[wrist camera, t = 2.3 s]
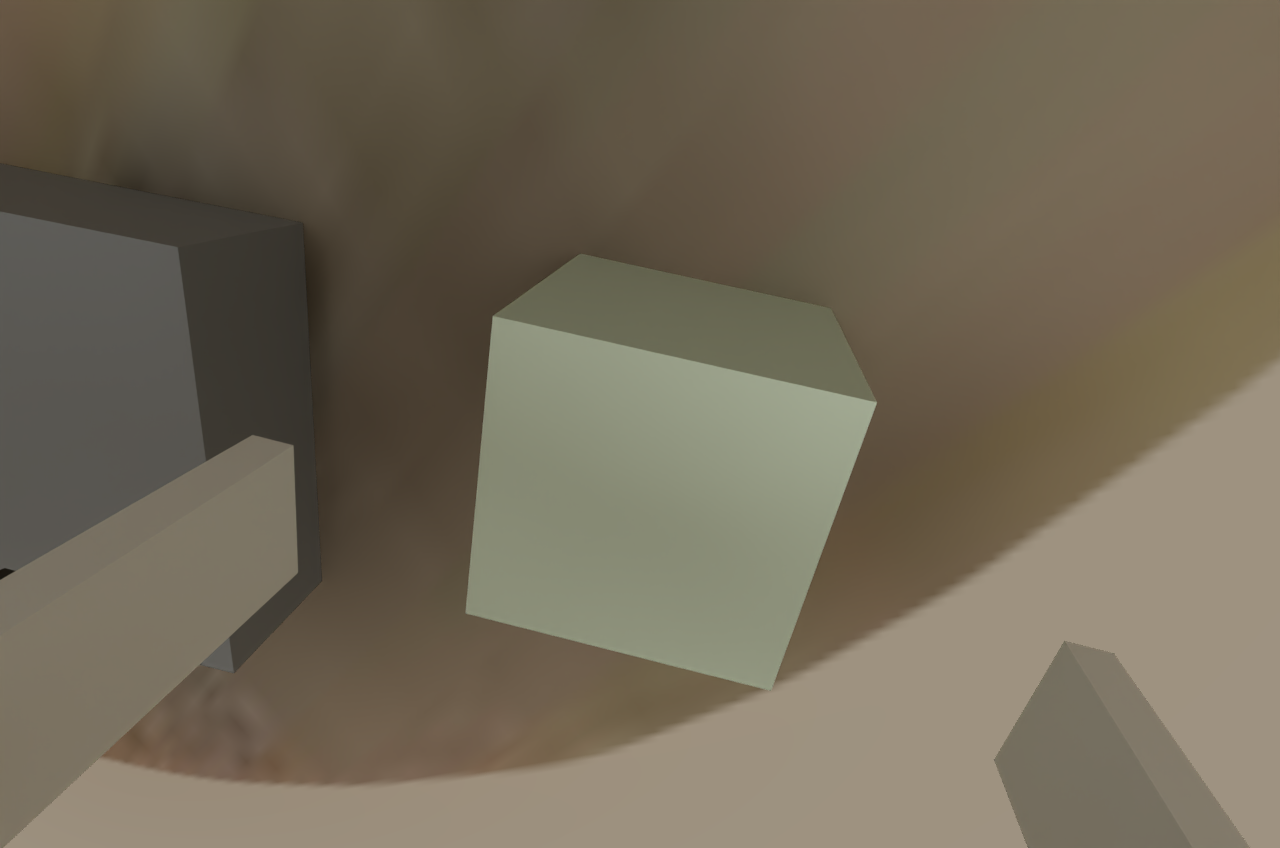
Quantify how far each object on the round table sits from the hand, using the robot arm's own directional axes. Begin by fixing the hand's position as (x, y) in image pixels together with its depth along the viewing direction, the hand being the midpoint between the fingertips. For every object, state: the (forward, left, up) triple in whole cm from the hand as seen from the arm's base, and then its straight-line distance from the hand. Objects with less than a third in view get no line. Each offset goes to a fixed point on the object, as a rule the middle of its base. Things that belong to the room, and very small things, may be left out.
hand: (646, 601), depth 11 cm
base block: (-18, -4, -9) cm, 21 cm away
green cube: (0, 0, -9) cm, 9 cm away
